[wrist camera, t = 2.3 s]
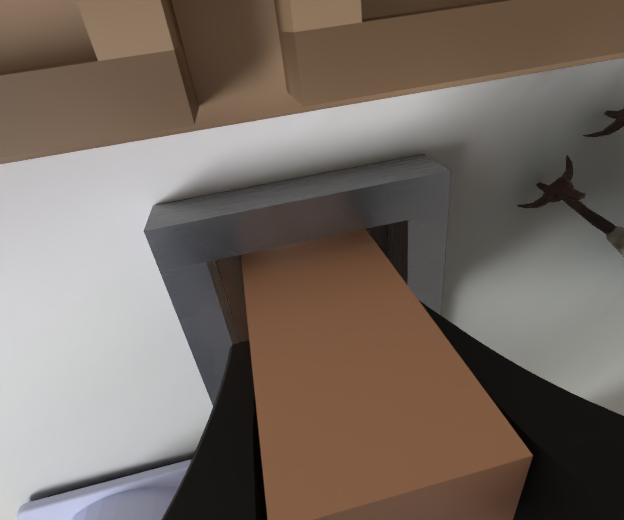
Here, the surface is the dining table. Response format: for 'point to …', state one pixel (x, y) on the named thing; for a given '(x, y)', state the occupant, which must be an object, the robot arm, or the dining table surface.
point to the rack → (261, 59)
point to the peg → (367, 395)
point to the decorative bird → (564, 191)
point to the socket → (296, 238)
